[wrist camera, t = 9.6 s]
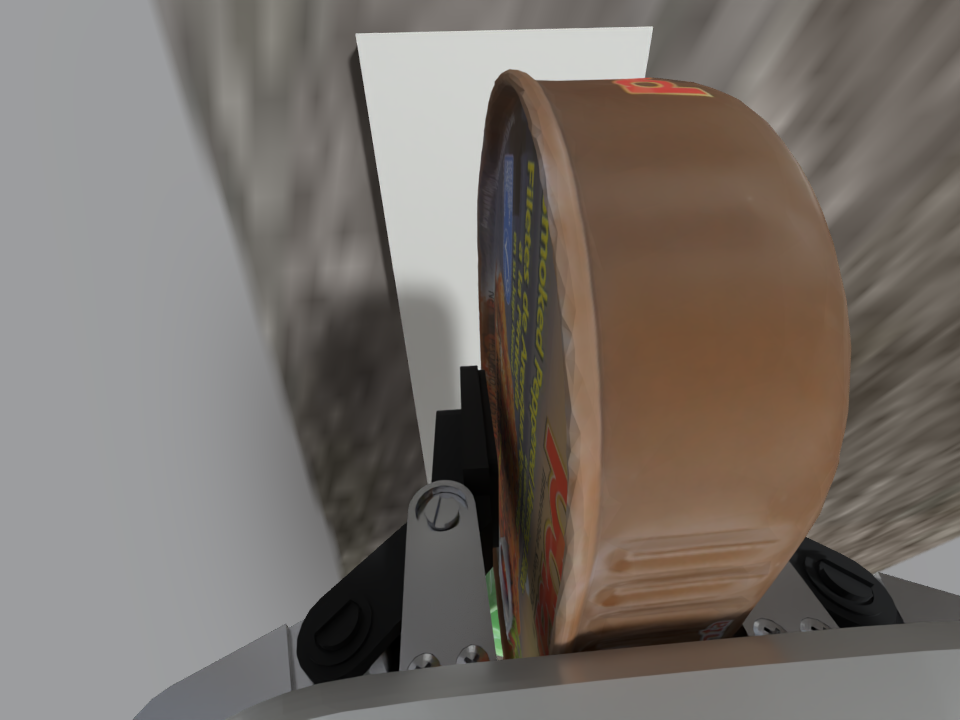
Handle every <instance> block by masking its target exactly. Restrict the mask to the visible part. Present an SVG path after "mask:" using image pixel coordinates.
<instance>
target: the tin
mask: <svg viewBox="0 0 960 720" xmlns="http://www.w3.org/2000/svg"><path fill="white" fill-rule="evenodd" d="M477 251H478V299H479V331H480V358H481V370H485V374H486V381H487V388H488V395H489V402H490V409H491V416H492V423H493V430H494V437H495V444H496V451H497V459H498V471H499V547H496V548H493V572H494V579H495V589H496V600H497V610H498V619H499V626H500V636H501V645H502V651H503V660H507V659H517V658H527V657H538V656H548V655H558V654H568V653H578V652H588V651H599V650H609V649H620V648H631V647H641V646H652V645H662V644H673V643H684V642H694V641H705V640H716V639H727V638H732V637H733V635H734V634H735V633H736V632H737V631H738V630H739V629H740V627H741V626H742V624H743V623H744V621H745V619H746V618H747V616H748V615H749V614H750V612H751V611H752V610H753V608H754V607H755V606H756V604H757V603H758V602H759V600H760V599H761V598H762V596H763V595H764V594H765V592H766V591H767V590H768V588H769V587H770V586H771V584H772V583H773V582H774V580H775V579H776V578H777V576H778V575H779V574H780V572H781V571H782V569H783V568H784V567H785V565H786V564H787V562H788V561H789V560H790V558H791V557H792V555H793V554H794V553H795V551H796V550H797V548H798V547H799V546H800V544H801V543H802V541H803V540H804V538H805V537H806V535H807V534H808V532H809V530H810V529H811V527H812V526H813V524H814V523H815V521H816V519H817V518H818V516H819V515H820V512H821V510H822V507H823V505H824V502H825V499H826V497H827V494H828V492H829V489H830V486H831V484H832V481H833V478H834V475H835V473H836V470H837V467H838V464H839V455H840V450H841V446H842V442H843V437H844V433H845V428H846V421H847V415H848V405H849V384H850V362H851V340H850V330H849V320H848V310H847V300H846V296H845V291H844V287H843V283H842V278H841V274H840V269H839V265H838V261H837V256H836V252H835V248H834V244H833V241H832V238H831V235H830V232H829V229H828V226H827V223H826V220H825V217H824V215H823V212H822V209H821V207H820V205H819V202H818V200H817V198H816V196H815V193H814V191H813V189H812V187H811V185H810V183H809V181H808V179H807V178H806V176H805V174H804V172H803V170H802V168H801V167H800V165H799V163H798V162H797V160H796V159H795V158H794V156H793V155H792V153H791V152H790V150H789V149H788V148H787V146H786V145H785V143H784V142H783V141H782V139H781V138H780V137H779V136H778V135H777V133H776V132H775V131H774V130H773V128H772V127H771V126H770V125H769V124H768V122H766V121H765V120H764V119H763V118H762V117H760V116H759V115H758V114H757V113H755V112H754V111H753V110H752V109H750V108H749V107H748V106H746V105H745V104H744V103H743V102H741V101H740V100H739V99H737V98H734V97H732V96H730V95H728V94H726V93H723V92H721V91H718V90H716V89H713V88H710V87H707V86H704V85H700V84H697V83H694V82H686V81H678V80H670V79H661V78H634V79H601V80H565V81H549V80H535V79H533V78H532V77H531V76H530V75H528V74H527V73H525V72H522V71H520V70H514V69H508V70H506V71H505V72H503V73H501V74H500V75H499V77H498V78H497V79H496V80H495V83H494V87H493V89H492V91H491V94H490V98H489V102H488V108H487V114H486V119H485V127H484V137H483V146H482V152H481V163H480V172H479V182H478V196H477Z"/></svg>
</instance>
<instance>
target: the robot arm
mask: <svg viewBox="0 0 960 720" xmlns="http://www.w3.org/2000/svg"><path fill="white" fill-rule="evenodd" d="M460 391H461V409H454V410H438V411H437V412H436V421H435V436H434V450H433V465H432V480H431V483H429V484H428V485H426V486H424V487H422V488H421V489H420V490H419V491H418V492H417V493H416V494H415V495H414V496H413V498H412V500H411V501H410V504H409V508H408V517H407V523H405V524H404V525H403V526H402V527H401V528H400V529H399V530H398V531H396V532H395V533H394V534H393V535H392V536H391V537H390V538H388V539H387V540H386V541H385V542H384V543H383V544H382V545H381V546H379V547H378V548H377V549H376V550H375V551H374V552H373V553H371V554H370V555H369V556H368V557H367V558H366V559H365V560H364V561H362V562H361V563H360V564H359V565H358V566H357V567H356V568H354V569H353V570H352V571H351V572H350V573H349V574H348V575H347V576H345V577H344V578H343V579H342V580H341V581H340V582H339V583H338V584H336V586H334V587H333V588H332V589H331V590H330V591H328V592H327V593H326V594H325V595H324V596H323V597H322V598H321V599H320V600H319V601H318V602H317V603H316V604H315V605H314V606H313V607H312V608H311V609H310V611H309V613H308V614H307V616H306V618H305V619H304V620H302V621H300V622H298V623H297V624H295V625H293V626H291V627H289V628H288V626H287V625H286V624H284V625H283V626H281V627H279V628H277V629H275V630H273V631H271V632H270V633H268V634H266V635H264V636H262V637H260V638H259V639H257V640H255V641H253V642H251V643H249V644H248V645H246V646H244V647H242V648H240V649H238V650H236V651H235V652H233V653H231V654H229V655H227V656H225V657H224V658H222V659H220V660H218V661H216V662H214V663H213V664H211V665H209V666H207V667H205V668H203V669H201V670H200V671H198V672H196V673H194V674H192V675H191V676H189V677H187V678H185V679H183V680H181V681H179V682H177V683H176V684H174V685H172V686H170V687H169V688H167V689H166V690H164V691H163V692H162V693H160V694H159V695H158V696H156V697H155V698H153V699H152V700H151V701H150V702H149V703H148V704H147V705H146V706H145V707H144V708H143V709H142V710H141V711H140V712H139V713H138V714H137V715H136V716H135V717H134V719H133V720H960V596H959V595H955V594H952V593H948V592H945V591H941V590H938V589H935V588H931V587H928V586H924V585H921V584H917V583H914V582H911V581H907V580H904V579H900V578H897V577H894V576H890V575H887V574H883V573H880V572H877V573H876V574H875V575H874V576H873V575H872V574H871V573H870V572H869V571H867V570H866V569H865V568H863V567H862V566H861V565H859V564H858V563H857V562H855V561H853V560H851V559H849V558H848V557H846V556H844V555H842V554H840V553H838V552H836V551H834V550H832V549H830V548H828V547H826V546H824V545H822V544H819V543H817V542H815V541H813V540H811V539H809V538H807V537H805V538H804V540H803V541H802V543H801V544H800V546H799V547H798V548H797V550H796V551H795V553H794V554H793V555H792V557H791V558H790V560H789V561H788V562H787V564H786V565H785V567H784V568H783V569H782V571H781V572H780V574H779V575H778V576H777V578H776V579H775V580H774V582H773V583H772V584H771V586H770V587H769V588H768V590H767V591H766V592H765V594H764V595H763V596H762V598H761V599H760V600H759V602H758V603H757V604H756V606H755V607H754V608H753V610H752V611H751V612H750V614H749V615H748V616H747V618H746V619H745V621H744V623H743V624H742V626H741V627H740V629H739V630H738V631H737V632H736V633H735V634H734V635H733V637H732V638H727V639H716V640H705V641H694V642H684V643H673V644H662V645H652V646H641V647H631V648H620V649H609V650H599V651H588V652H578V653H568V654H558V655H548V656H538V657H527V658H517V659H507V660H497V657H496V649H495V642H494V635H493V628H492V621H491V613H490V606H489V599H488V592H487V584H486V577H485V576H486V575H487V573H488V572H489V571H490V570H491V569H492V567H493V548H496V547H499V471H498V459H497V451H496V444H495V437H494V430H493V423H492V416H491V409H490V402H489V395H488V388H487V381H486V374H485V370H478V366H477V365H474V366H460Z"/></svg>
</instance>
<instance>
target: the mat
mask: <svg viewBox="0 0 960 720" xmlns="http://www.w3.org/2000/svg"><path fill="white" fill-rule="evenodd" d="M652 30H653V27H615V28H573V29H531V30H489V31H447V32H405V33H363V34H356V40H357V46H358V52H359V58H360V65H361V71H362V77H363V83H364V90H365V96H366V102H367V108H368V115H369V121H370V127H371V133H372V140H373V146H374V152H375V158H376V165H377V171H378V177H379V183H380V190H381V196H382V202H383V208H384V215H385V221H386V227H387V233H388V240H389V246H390V252H391V258H392V265H393V271H394V277H395V283H396V289H397V296H398V302H399V308H400V314H401V321H402V327H403V333H404V339H405V346H406V352H407V358H408V364H409V371H410V377H411V383H412V389H413V396H414V402H415V408H416V414H417V421H418V427H419V433H420V439H421V446H422V452H423V458H424V464H425V471H426V477H427V483H428V484H429V483H431V480H432V465H433V450H434V436H435V421H436V412H437V411H438V410H454V409H461V391H460V366H474V365H477V366H478V370H481V358H480V331H479V299H478V251H477V196H478V182H479V172H480V163H481V152H482V146H483V137H484V127H485V119H486V114H487V108H488V102H489V98H490V94H491V91H492V89H493V87H494V83H495V80H496V79H497V78H498V77H499V75H500V74H501V73H503V72H505V71H506V70H508V69H514V70H520V71H522V72H525V73H527V74H528V75H530V76H531V77H532V78H533V79H535V80H549V81H565V80H601V79H634V78H645V73H646V67H647V61H648V55H649V49H650V43H651V37H652Z"/></svg>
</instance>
